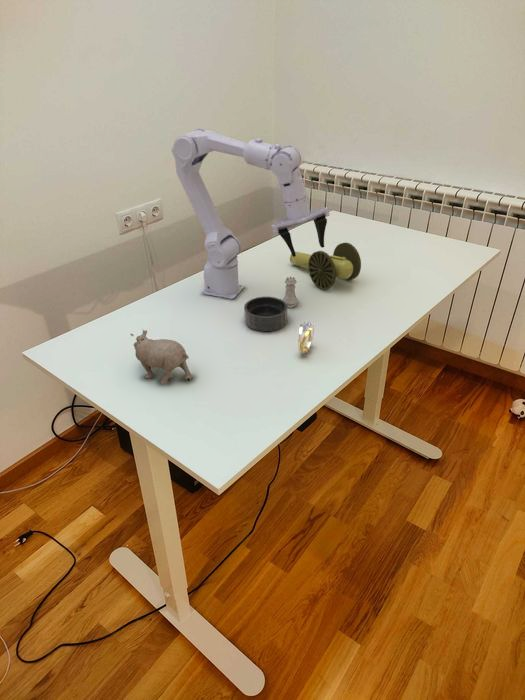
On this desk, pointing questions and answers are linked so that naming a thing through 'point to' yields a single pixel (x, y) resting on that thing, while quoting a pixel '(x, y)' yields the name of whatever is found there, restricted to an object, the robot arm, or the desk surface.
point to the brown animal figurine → (161, 356)
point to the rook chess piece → (290, 293)
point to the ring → (311, 333)
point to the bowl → (265, 313)
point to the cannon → (330, 265)
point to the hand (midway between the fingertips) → (308, 251)
